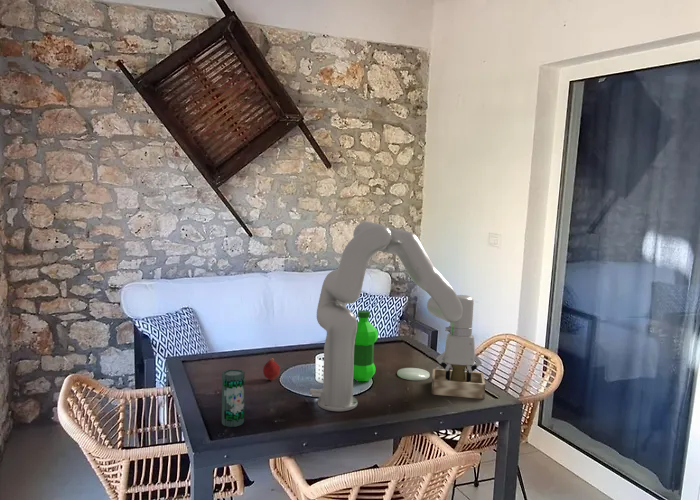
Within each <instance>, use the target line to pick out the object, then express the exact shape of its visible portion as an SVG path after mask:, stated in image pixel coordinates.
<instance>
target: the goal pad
mask: <svg viewBox="0 0 700 500" xmlns="http://www.w3.org/2000/svg"><path fill="white" fill-rule="evenodd" d="M396 374H397V375H396V376H398V377H399V378H401V379H403V380H406V381H407V380H408V381H413V382H414V381H425V380H428V379H429V378H430V376H431V375H430V372H429V371H427V370H425V369H422V368H418V367H417V368H416V367H403V368H400V369H398V370H397V373H396Z"/></svg>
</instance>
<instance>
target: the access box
mask: <svg viewBox="0 0 700 500" xmlns="http://www.w3.org/2000/svg"><path fill="white" fill-rule="evenodd" d="M451 374H452V369H450V380H451ZM431 376H432V377H431V391H430V392H431V395H435V396H436V395H437V396H446V397H447V396H448V397H458V398H469V399H479V400H480V399H481V400H484V399H485V398H486V397H485V395H486V382H485V381H486V380H485V376H484V372H481V371H479V372H478V371H473V372H472V373H471V381H469V382H459V381H447V379H446V370H445V369H444V368H432V375H431ZM466 377H467V370H465V381H466Z"/></svg>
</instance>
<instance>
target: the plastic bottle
mask: <svg viewBox="0 0 700 500" xmlns="http://www.w3.org/2000/svg"><path fill="white" fill-rule="evenodd" d="M357 318H358V319H359V320H357V333H356V337H355V345H354V371H353V380H354V379H355V380H358V381H367V382H369V380H371V379H372V378H373V376H375V374H376V369H377V368H376V365H375V362H374V355H375V354H374V352H375V351H374V349H375V343H376V342H377V340H378V338H379V331H378V329H377V328H376V327H375V326H374V325H373V324H372V323H371V322H370V321H369V318H371V311H369V310H366V309H365V310H364V309H362V310H358V311H357ZM355 380H354V381H355ZM358 381H357V382H358Z"/></svg>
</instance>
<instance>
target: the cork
mask: <svg viewBox="0 0 700 500" xmlns="http://www.w3.org/2000/svg"><path fill="white" fill-rule="evenodd" d="M450 367H451V368H452V369H451V370H452V374H451V380H450V381H459V382H466V381H465V371H466V370H465V369H467V366H463V365H451V366H450Z"/></svg>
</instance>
